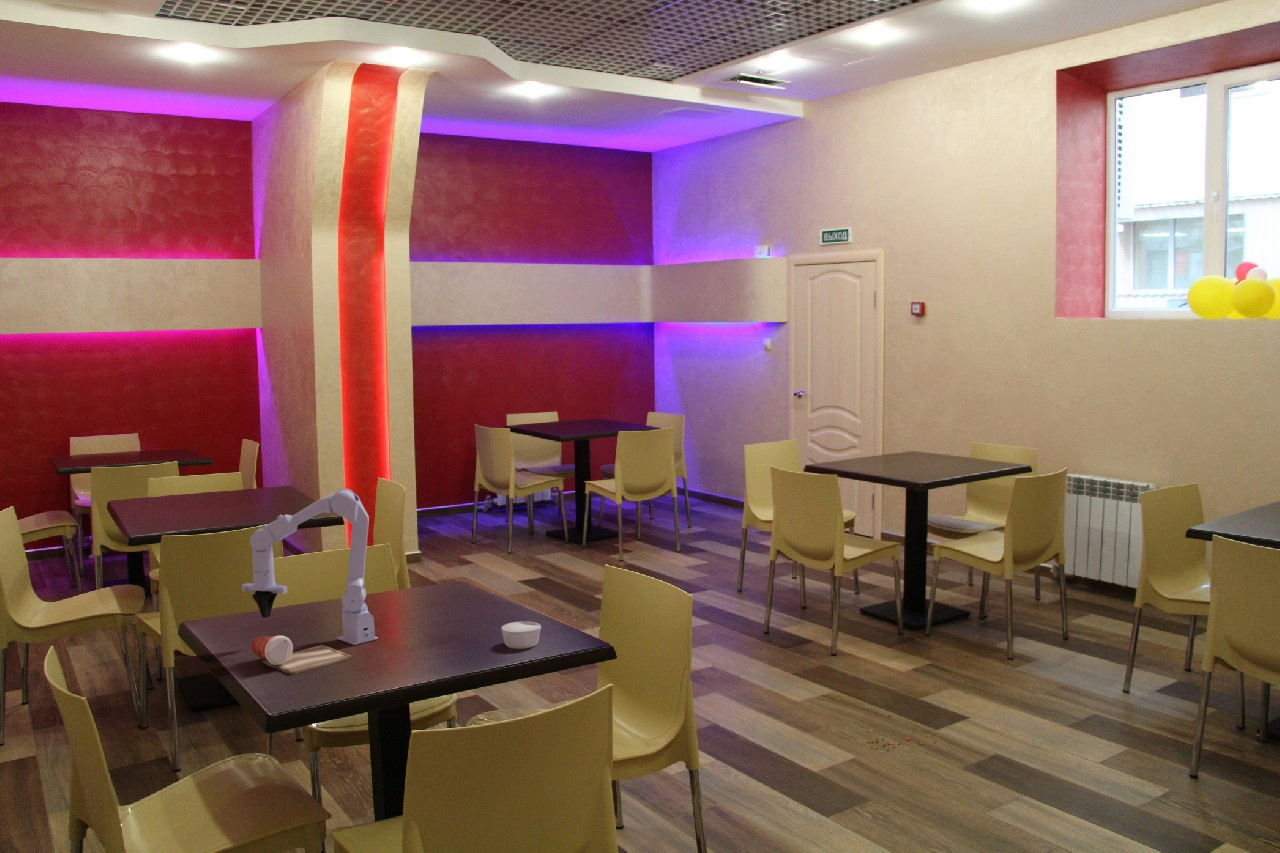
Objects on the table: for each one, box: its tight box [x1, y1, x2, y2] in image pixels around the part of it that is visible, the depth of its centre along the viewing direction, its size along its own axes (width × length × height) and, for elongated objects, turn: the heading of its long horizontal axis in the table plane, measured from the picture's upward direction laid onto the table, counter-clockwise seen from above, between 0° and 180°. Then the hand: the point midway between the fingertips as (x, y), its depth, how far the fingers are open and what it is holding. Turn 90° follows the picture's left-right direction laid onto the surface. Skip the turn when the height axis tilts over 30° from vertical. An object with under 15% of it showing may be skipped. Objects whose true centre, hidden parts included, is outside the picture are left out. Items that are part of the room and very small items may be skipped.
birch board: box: [262, 644, 353, 676], centre depth 288 cm, size 16×18×1 cm
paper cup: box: [251, 635, 294, 665], centre depth 286 cm, size 8×8×14 cm
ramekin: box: [500, 621, 542, 650], centre depth 299 cm, size 11×11×5 cm
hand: (266, 616), depth 303 cm, fingers closed
